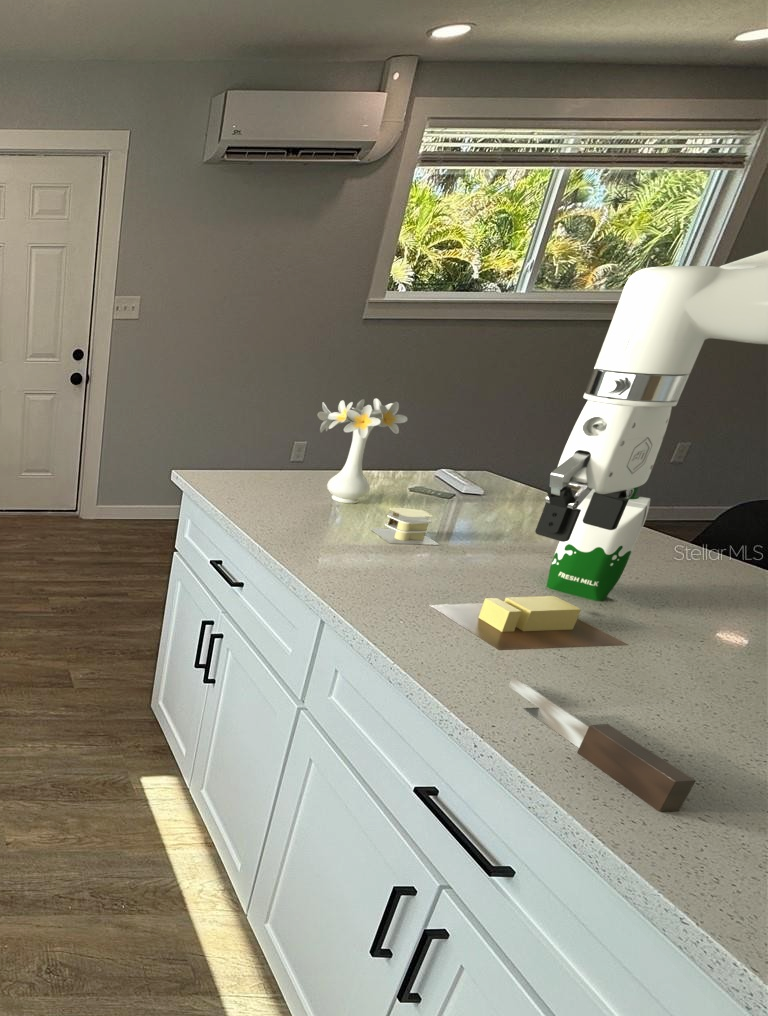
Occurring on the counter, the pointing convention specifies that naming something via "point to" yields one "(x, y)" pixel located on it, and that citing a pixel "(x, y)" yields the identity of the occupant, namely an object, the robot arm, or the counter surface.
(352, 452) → the flower vase
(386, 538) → the stacked layers on plate
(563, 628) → the butter stick
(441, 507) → the counter surface
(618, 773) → the knife
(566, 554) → the milk carton
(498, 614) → the butter pat
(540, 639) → the cutting board
